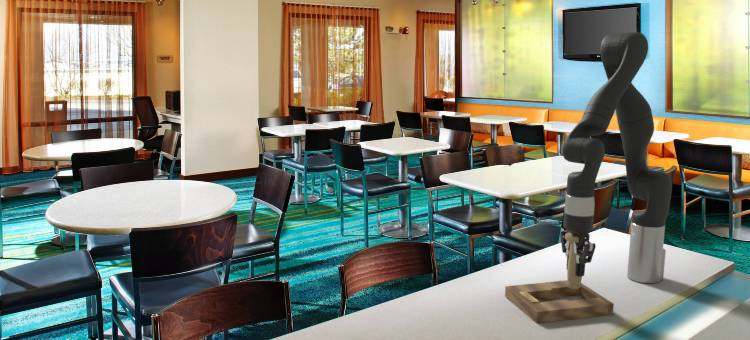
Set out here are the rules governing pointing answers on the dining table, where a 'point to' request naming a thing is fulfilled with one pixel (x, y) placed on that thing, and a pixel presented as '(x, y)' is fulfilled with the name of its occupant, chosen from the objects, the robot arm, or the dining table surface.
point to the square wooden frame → (548, 311)
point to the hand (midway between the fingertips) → (575, 272)
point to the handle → (573, 263)
